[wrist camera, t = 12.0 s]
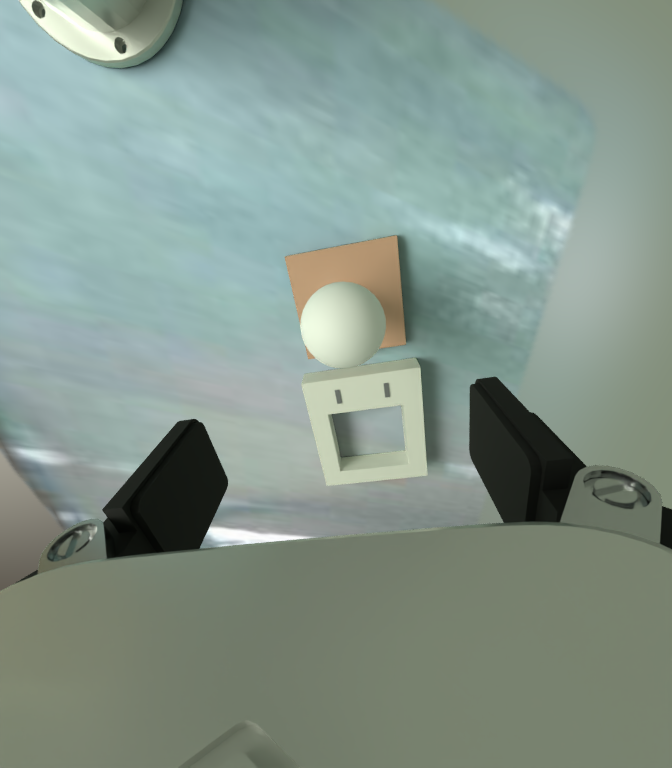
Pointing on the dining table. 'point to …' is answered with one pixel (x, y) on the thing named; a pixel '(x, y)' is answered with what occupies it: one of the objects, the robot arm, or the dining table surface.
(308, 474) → the dining table surface
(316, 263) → the tile
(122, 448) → the dining table surface
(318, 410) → the slotted square frame
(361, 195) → the dining table surface
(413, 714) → the robot arm
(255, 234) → the dining table surface
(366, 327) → the lightbulb
